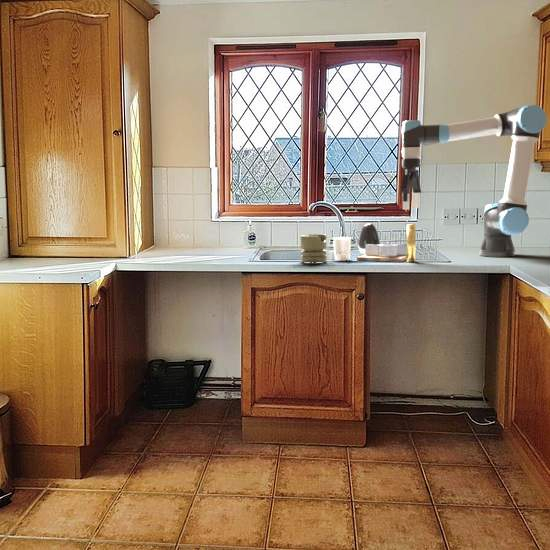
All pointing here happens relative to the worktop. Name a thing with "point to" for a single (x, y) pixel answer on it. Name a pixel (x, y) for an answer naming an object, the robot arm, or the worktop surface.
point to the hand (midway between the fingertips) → (410, 208)
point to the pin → (411, 242)
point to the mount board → (383, 258)
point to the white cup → (342, 248)
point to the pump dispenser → (368, 237)
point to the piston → (313, 248)
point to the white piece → (386, 250)
